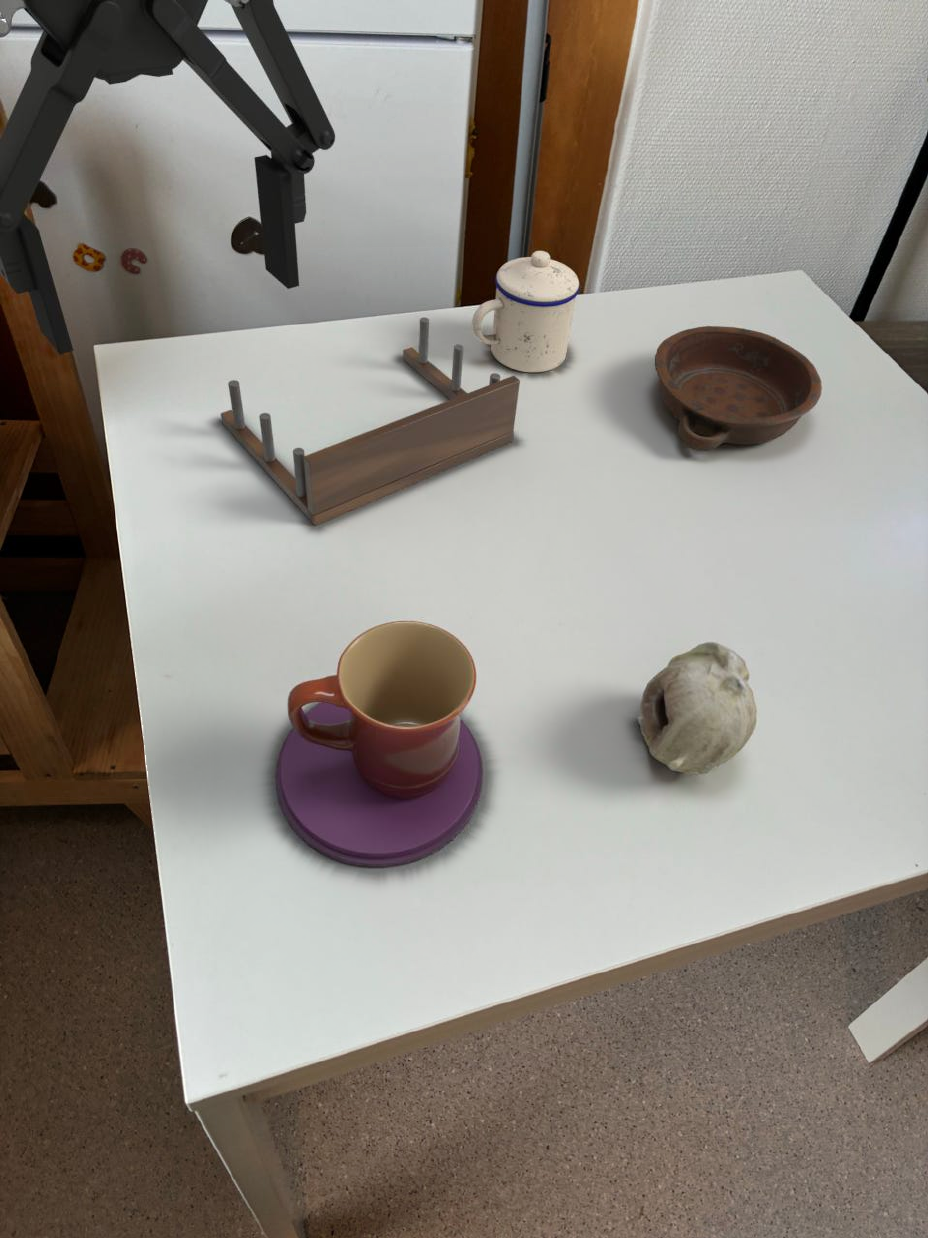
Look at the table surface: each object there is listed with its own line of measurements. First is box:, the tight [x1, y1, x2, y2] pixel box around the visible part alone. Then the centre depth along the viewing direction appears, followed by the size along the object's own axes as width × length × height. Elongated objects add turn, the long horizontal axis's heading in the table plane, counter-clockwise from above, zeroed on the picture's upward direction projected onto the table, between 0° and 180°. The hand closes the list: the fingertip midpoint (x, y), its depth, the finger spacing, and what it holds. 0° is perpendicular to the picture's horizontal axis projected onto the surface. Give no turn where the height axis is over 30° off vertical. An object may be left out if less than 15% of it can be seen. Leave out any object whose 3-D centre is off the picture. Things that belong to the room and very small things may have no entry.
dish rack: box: [220, 317, 521, 526], centre depth 88 cm, size 18×23×7 cm
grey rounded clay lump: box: [637, 641, 758, 777], centre depth 65 cm, size 9×8×10 cm
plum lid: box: [274, 702, 484, 868], centre depth 65 cm, size 15×15×1 cm
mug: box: [287, 620, 477, 799], centre depth 60 cm, size 12×9×10 cm
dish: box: [654, 325, 823, 452], centre depth 96 cm, size 18×22×5 cm
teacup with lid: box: [471, 250, 581, 373], centre depth 98 cm, size 12×9×12 cm
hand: (176, 307), depth 51 cm, fingers open, 13 cm apart
